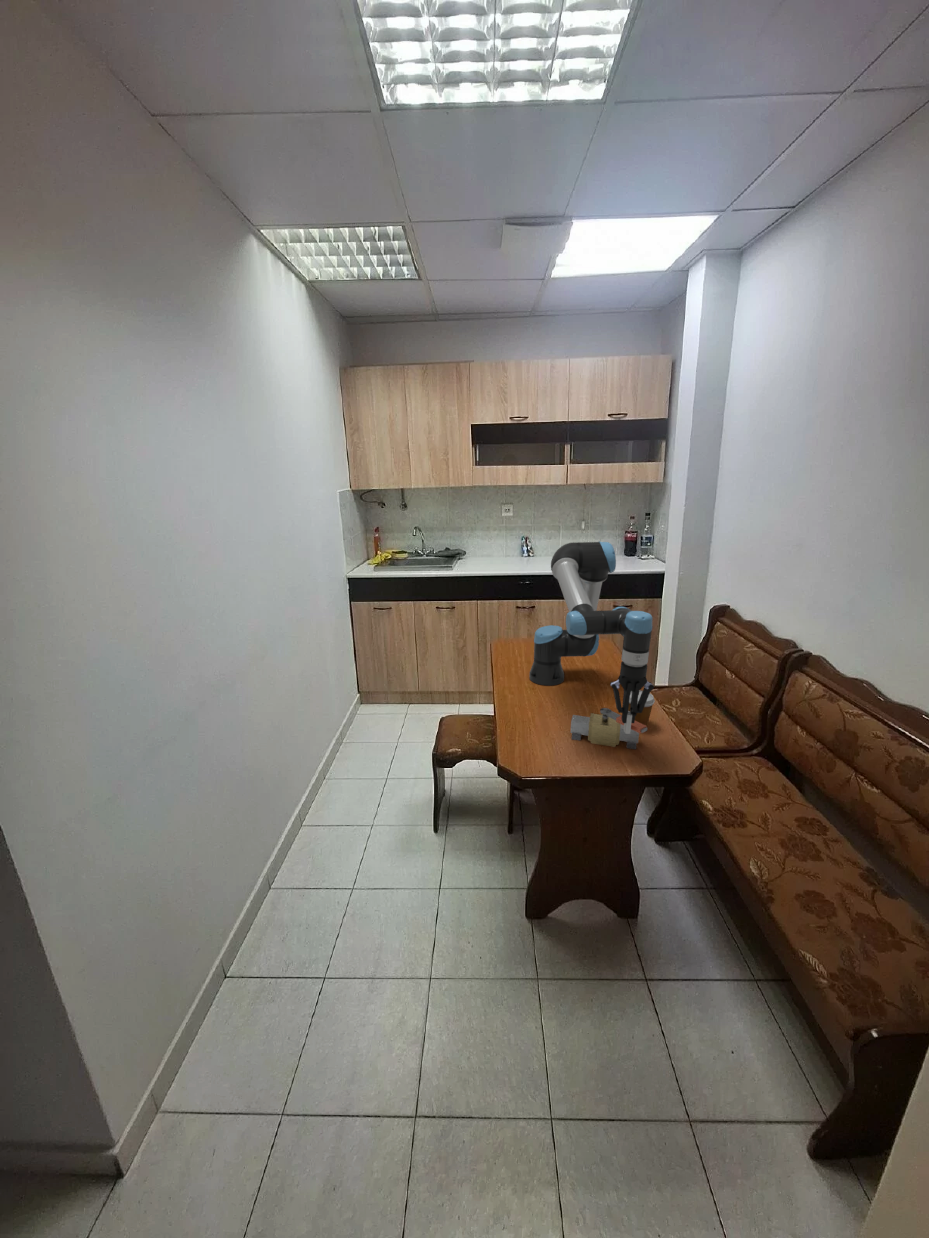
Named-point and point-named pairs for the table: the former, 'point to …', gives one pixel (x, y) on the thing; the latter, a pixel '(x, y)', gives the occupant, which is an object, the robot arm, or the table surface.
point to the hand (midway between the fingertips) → (626, 731)
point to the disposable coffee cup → (645, 714)
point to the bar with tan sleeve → (602, 731)
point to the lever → (634, 726)
